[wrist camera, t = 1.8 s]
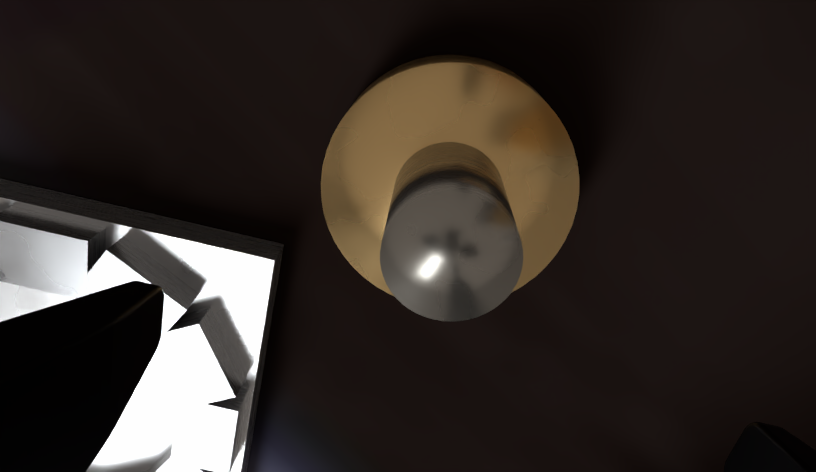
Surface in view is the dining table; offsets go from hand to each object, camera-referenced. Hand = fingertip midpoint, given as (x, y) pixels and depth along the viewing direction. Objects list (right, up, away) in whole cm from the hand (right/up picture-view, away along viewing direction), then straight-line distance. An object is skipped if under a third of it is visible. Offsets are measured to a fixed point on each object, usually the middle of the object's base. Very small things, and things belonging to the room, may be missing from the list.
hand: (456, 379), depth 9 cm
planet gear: (0, +4, +9) cm, 10 cm away
